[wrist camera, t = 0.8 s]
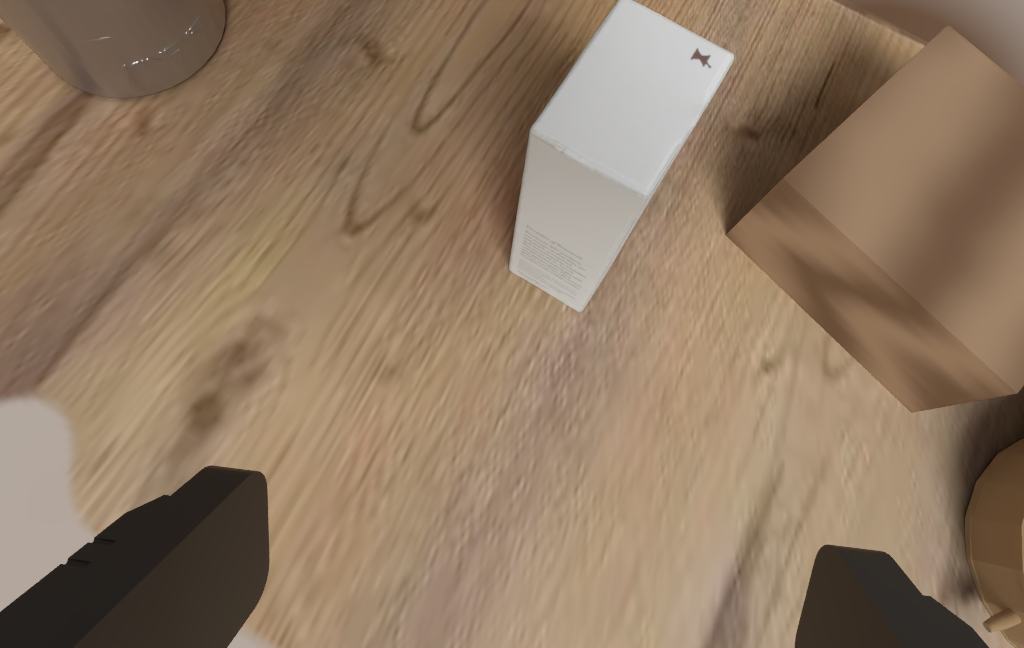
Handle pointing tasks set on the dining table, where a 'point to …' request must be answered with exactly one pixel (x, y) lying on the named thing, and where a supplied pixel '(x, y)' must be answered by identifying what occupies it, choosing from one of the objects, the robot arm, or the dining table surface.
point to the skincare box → (608, 147)
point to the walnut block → (912, 230)
